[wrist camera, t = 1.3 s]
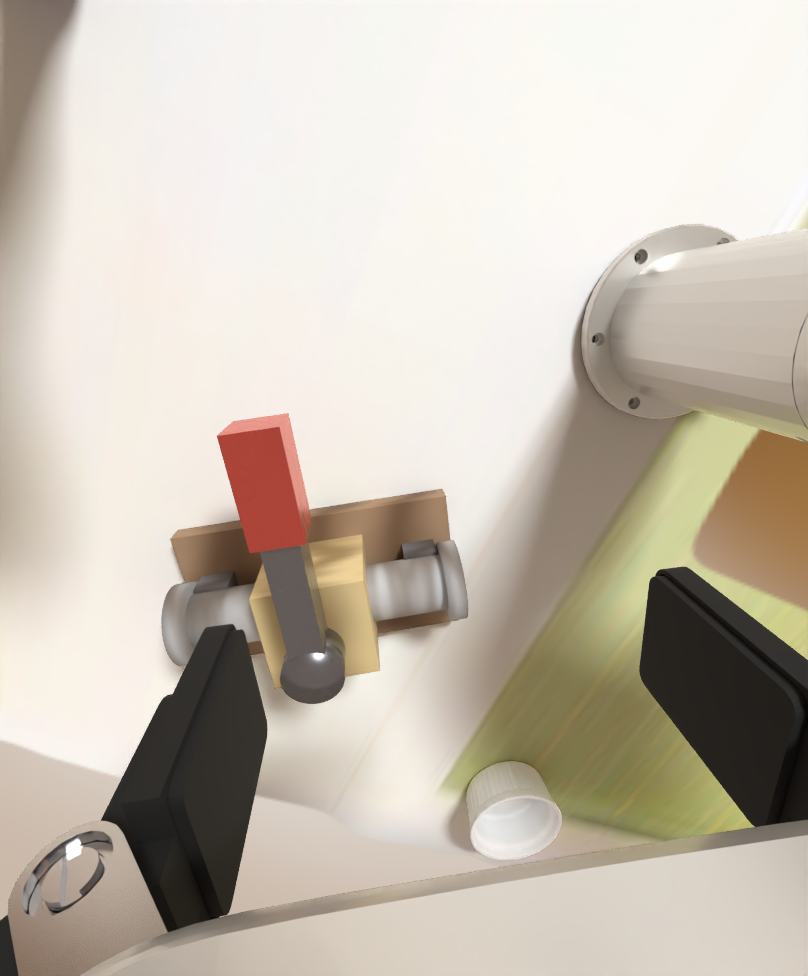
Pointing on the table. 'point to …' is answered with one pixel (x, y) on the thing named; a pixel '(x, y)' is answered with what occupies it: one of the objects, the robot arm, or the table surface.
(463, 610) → the valve manifold
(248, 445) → the lever
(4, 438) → the table surface
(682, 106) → the table surface
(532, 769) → the ramekin
